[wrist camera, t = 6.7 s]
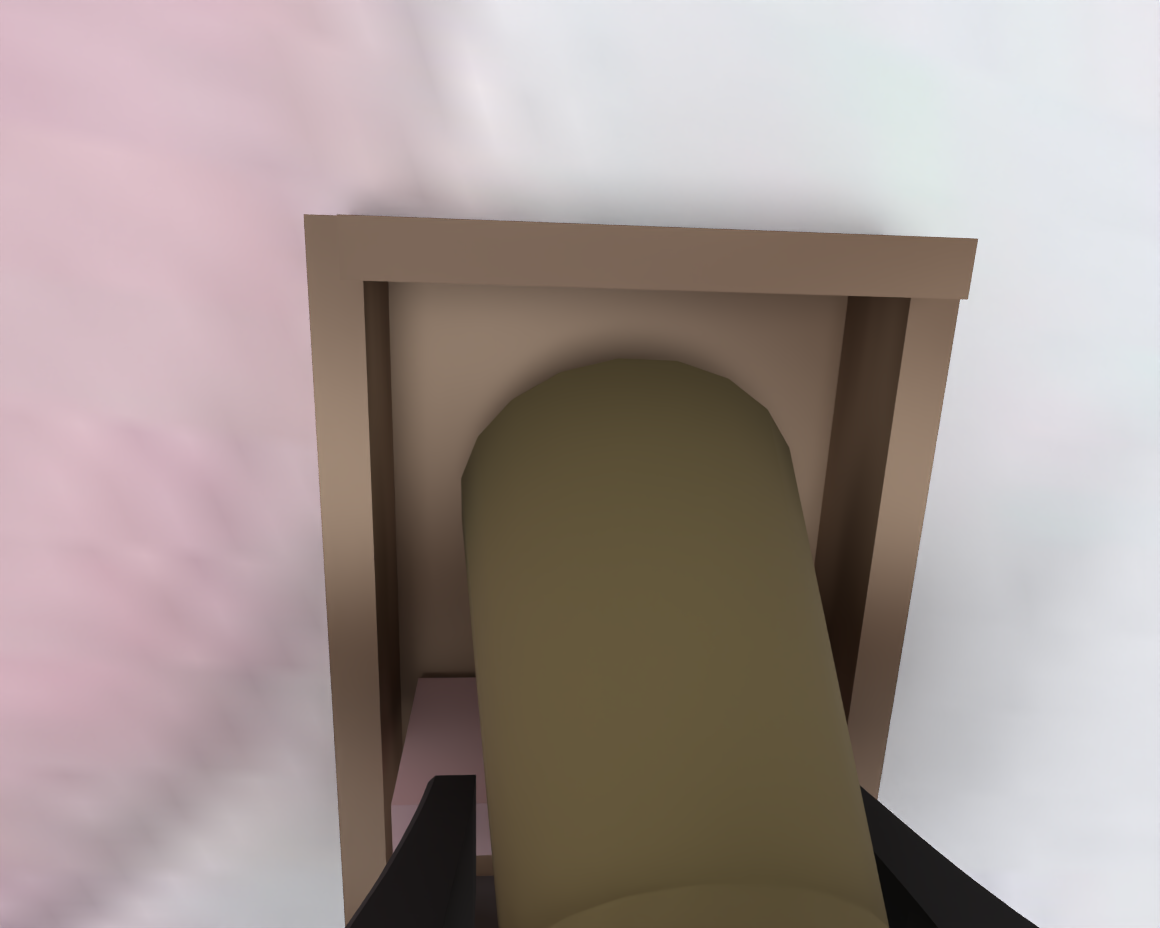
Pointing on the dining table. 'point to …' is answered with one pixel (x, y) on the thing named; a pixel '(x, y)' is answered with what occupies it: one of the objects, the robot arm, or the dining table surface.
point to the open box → (580, 338)
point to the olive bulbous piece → (656, 664)
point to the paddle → (441, 751)
